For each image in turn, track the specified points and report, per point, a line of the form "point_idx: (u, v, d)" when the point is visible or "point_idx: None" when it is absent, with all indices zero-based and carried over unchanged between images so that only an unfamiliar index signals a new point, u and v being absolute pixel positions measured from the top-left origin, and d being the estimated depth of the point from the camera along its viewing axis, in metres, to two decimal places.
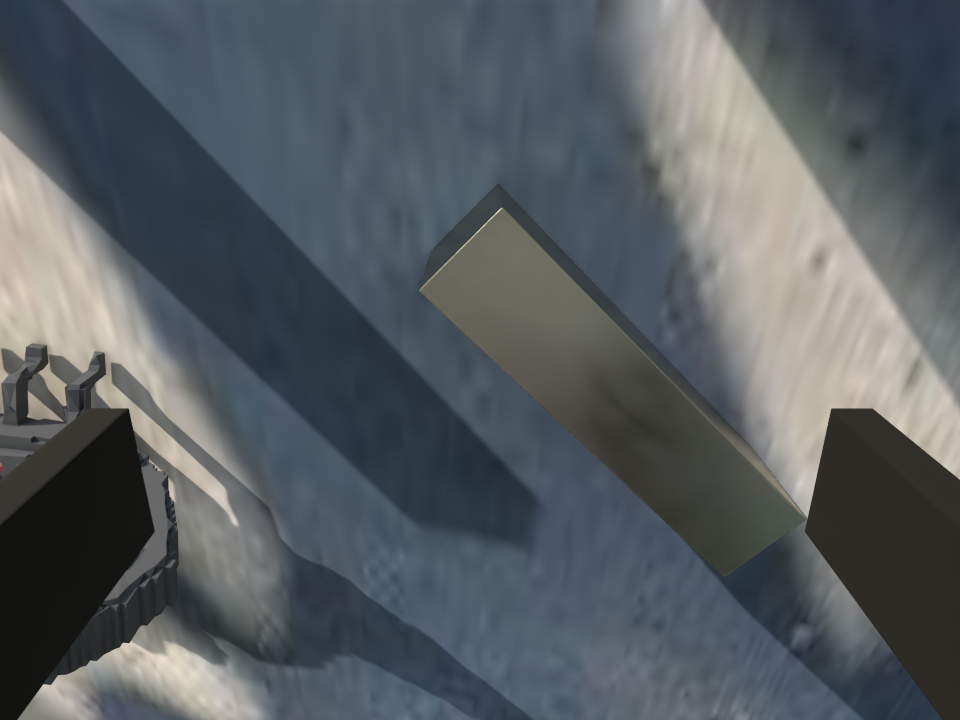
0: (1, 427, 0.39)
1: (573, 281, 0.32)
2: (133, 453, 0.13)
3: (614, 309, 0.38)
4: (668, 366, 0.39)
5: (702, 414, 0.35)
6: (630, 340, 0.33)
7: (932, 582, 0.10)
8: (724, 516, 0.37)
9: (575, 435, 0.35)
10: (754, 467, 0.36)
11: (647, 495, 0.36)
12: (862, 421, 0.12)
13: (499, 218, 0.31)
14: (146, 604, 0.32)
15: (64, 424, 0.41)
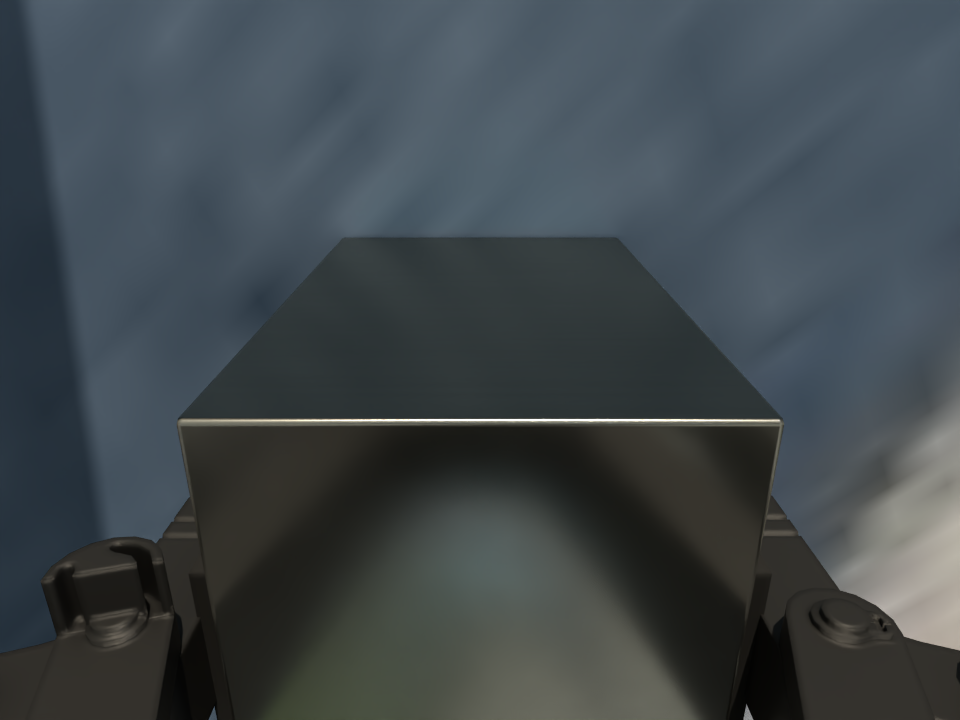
0: None
1: None
2: None
3: None
4: None
5: None
6: None
7: None
8: None
9: None
10: None
11: None
12: None
13: (731, 448, 0.06)
14: None
15: None
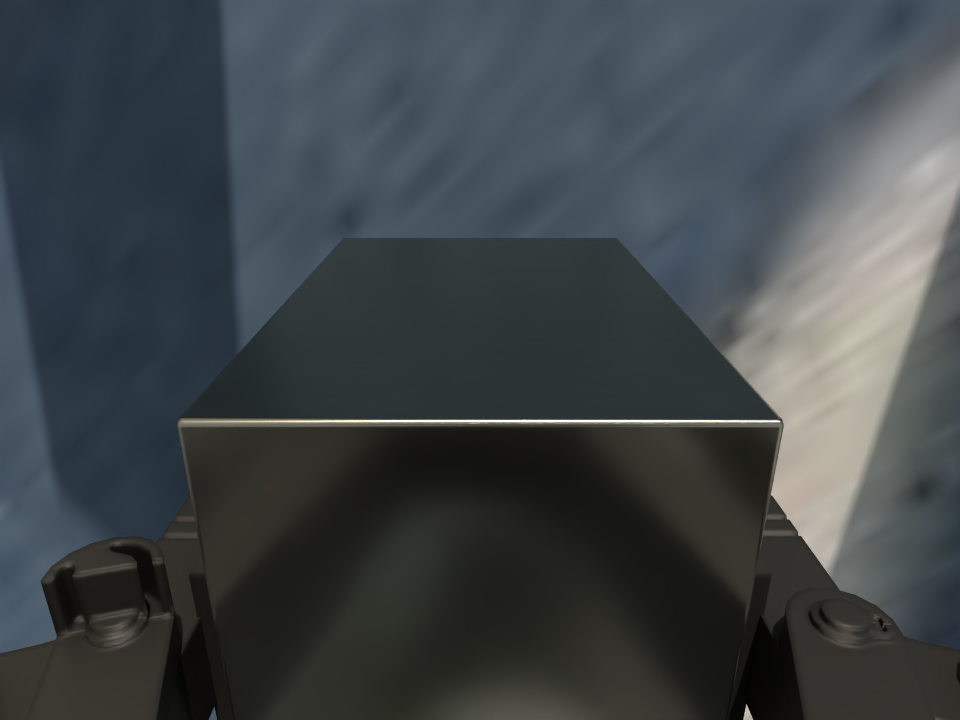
0: None
1: None
2: None
3: None
4: None
5: None
6: None
7: None
8: None
9: None
10: None
11: None
12: None
13: (732, 449, 0.06)
14: None
15: None
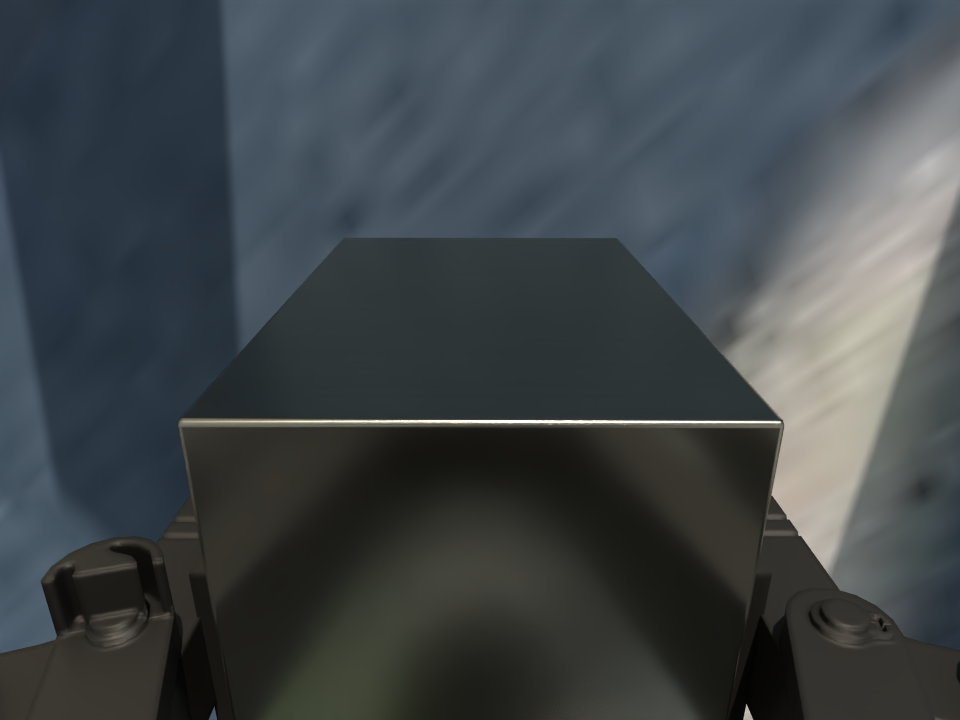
0: None
1: None
2: None
3: None
4: None
5: None
6: None
7: None
8: None
9: None
10: None
11: None
12: None
13: (733, 449, 0.06)
14: None
15: None
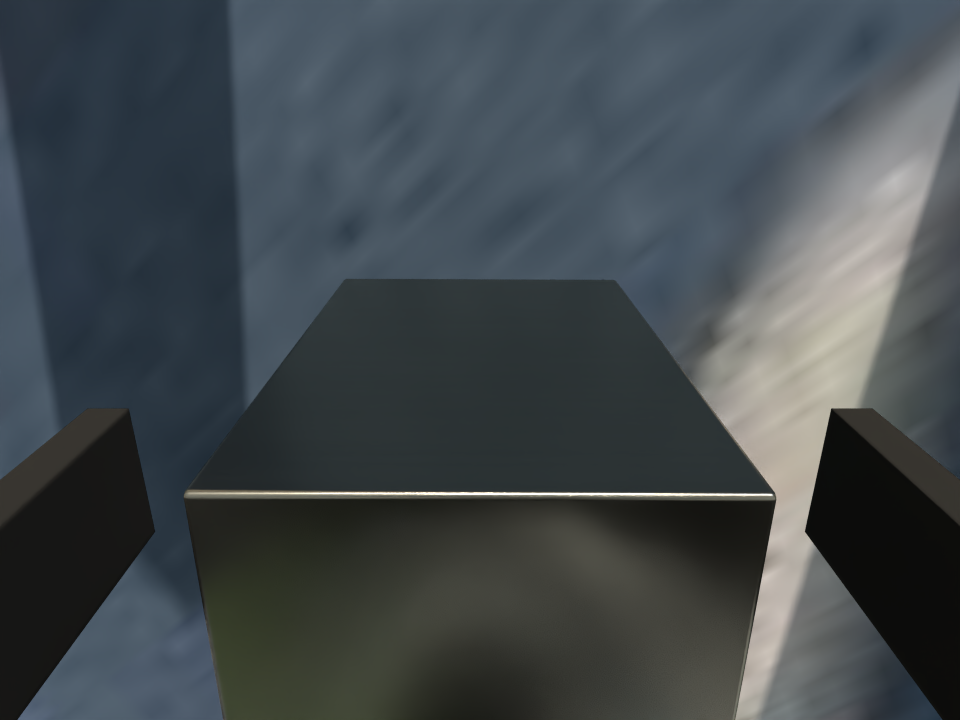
0: None
1: None
2: (133, 453, 0.13)
3: None
4: None
5: None
6: None
7: (932, 582, 0.10)
8: None
9: None
10: None
11: None
12: (862, 421, 0.12)
13: (725, 521, 0.06)
14: None
15: None
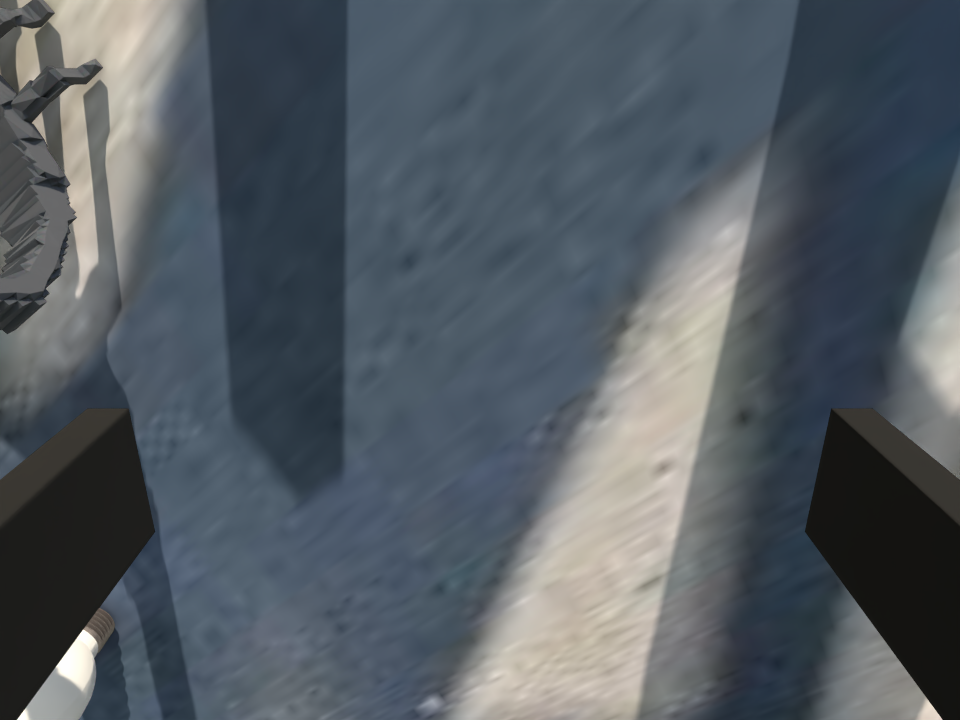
0: None
1: None
2: (133, 453, 0.13)
3: None
4: None
5: None
6: None
7: (932, 582, 0.10)
8: None
9: None
10: None
11: None
12: (862, 421, 0.12)
13: None
14: None
15: (12, 92, 0.37)
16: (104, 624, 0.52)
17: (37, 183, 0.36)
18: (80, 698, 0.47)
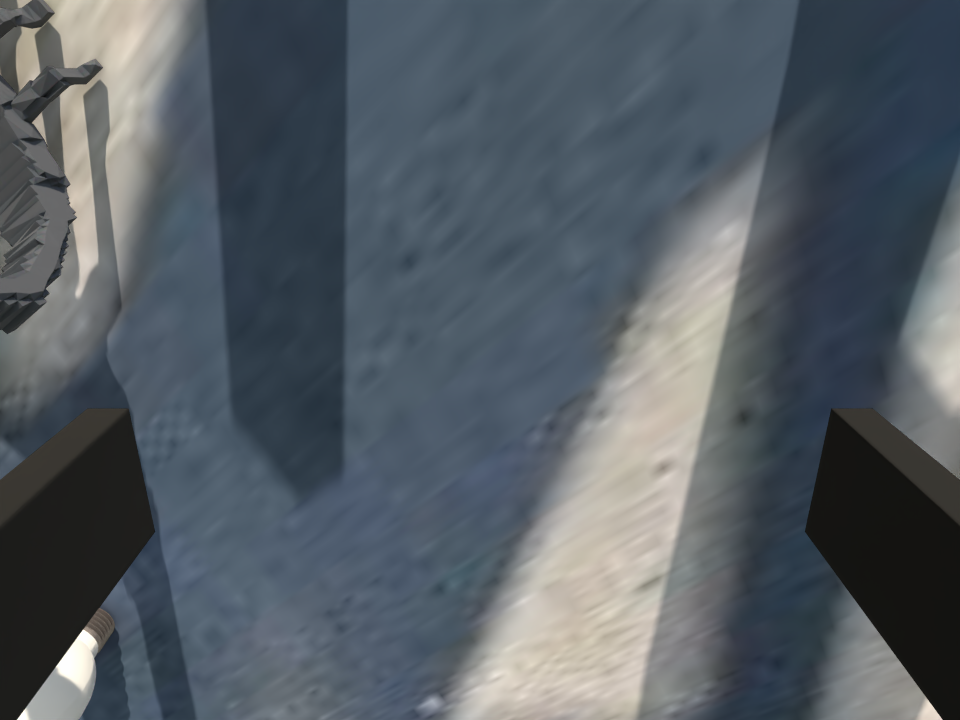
0: None
1: None
2: (133, 453, 0.13)
3: None
4: None
5: None
6: None
7: (932, 582, 0.10)
8: None
9: None
10: None
11: None
12: (862, 421, 0.12)
13: None
14: None
15: (12, 92, 0.37)
16: (104, 624, 0.52)
17: (37, 183, 0.36)
18: (80, 698, 0.47)
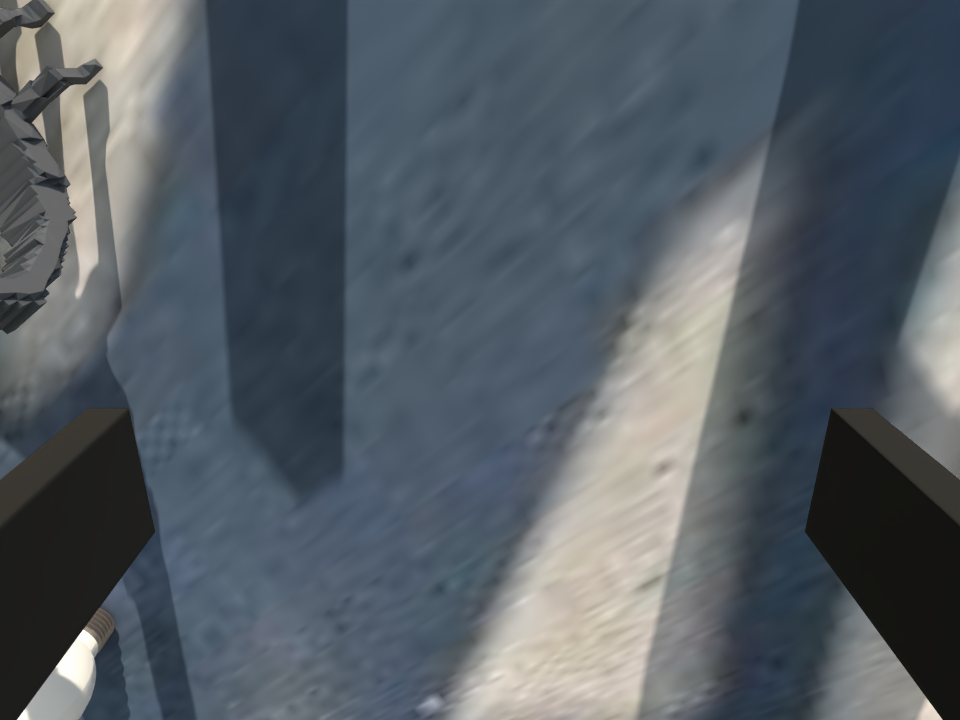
0: None
1: None
2: (133, 453, 0.13)
3: None
4: None
5: None
6: None
7: (932, 582, 0.10)
8: None
9: None
10: None
11: None
12: (862, 421, 0.12)
13: None
14: None
15: (12, 92, 0.37)
16: (104, 624, 0.52)
17: (37, 183, 0.36)
18: (80, 698, 0.47)
